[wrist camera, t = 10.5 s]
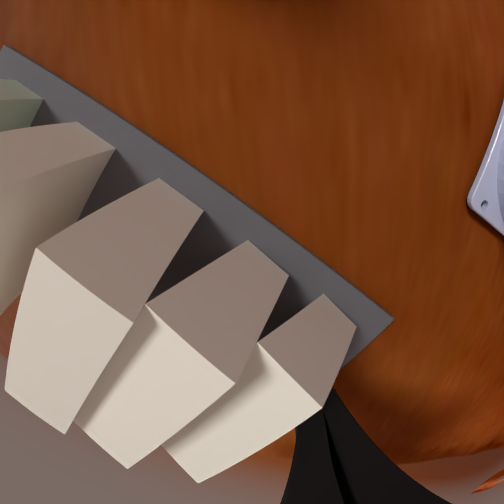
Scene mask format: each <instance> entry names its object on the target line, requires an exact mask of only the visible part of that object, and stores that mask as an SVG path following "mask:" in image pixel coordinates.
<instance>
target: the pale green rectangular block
mask: <svg viewBox="0 0 504 504" xmlns="http://www.w3.org/2000/svg"><path fill="white" fill-rule="evenodd" d="M42 101H43V98H41V97H40V96H38V95H37V94H35V93H34V92H33V91H31V90H30V89H28V88H27V87H25V86H24V85H22V84H21V83H20V82H18V81H17V80H3V79H0V132H3V131H8V130H14V129H20V128H27V127H30V126H31V123H32V121H33V119H34V117H35V115H36V113H37V111H38V109H39V107H40V105H41V103H42Z"/></svg>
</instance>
